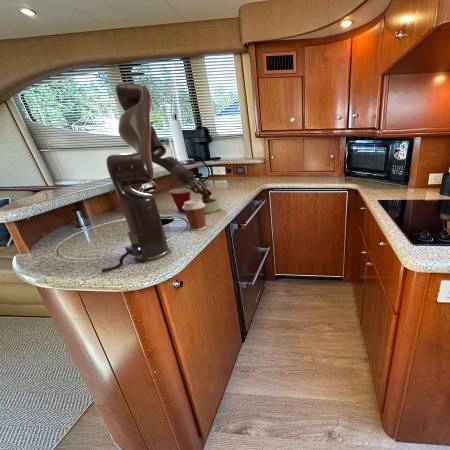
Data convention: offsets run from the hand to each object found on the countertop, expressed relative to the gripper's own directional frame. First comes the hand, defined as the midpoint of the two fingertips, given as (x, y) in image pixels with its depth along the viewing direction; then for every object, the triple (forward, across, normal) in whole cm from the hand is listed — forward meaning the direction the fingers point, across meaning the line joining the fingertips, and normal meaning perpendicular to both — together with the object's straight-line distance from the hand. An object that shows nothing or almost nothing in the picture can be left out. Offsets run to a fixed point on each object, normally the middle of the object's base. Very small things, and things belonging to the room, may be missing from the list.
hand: (209, 195), depth 127 cm
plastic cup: (-6, +3, +18) cm, 19 cm away
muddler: (+3, 0, +6) cm, 6 cm away
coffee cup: (+9, -27, +3) cm, 29 cm away
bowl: (+4, 0, +8) cm, 9 cm away
